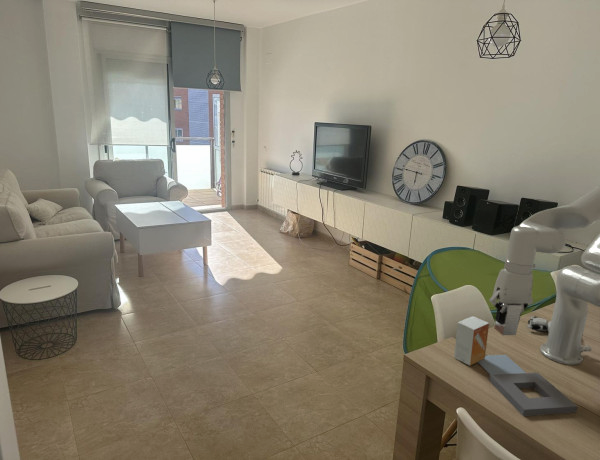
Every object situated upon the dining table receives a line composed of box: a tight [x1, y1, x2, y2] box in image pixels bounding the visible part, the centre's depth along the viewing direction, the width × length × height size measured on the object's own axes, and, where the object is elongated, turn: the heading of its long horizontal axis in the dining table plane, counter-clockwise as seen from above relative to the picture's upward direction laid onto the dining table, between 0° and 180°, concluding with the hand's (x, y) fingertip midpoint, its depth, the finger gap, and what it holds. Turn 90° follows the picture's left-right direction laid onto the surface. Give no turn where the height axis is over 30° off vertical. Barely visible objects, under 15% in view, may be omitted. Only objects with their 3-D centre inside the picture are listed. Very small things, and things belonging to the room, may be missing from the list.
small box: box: [453, 315, 490, 366], centre depth 141 cm, size 8×6×13 cm
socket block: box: [488, 372, 578, 417], centre depth 124 cm, size 16×16×2 cm
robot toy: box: [526, 315, 551, 333], centre depth 164 cm, size 12×4×15 cm
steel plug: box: [494, 304, 522, 336], centre depth 134 cm, size 4×4×10 cm
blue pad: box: [477, 354, 527, 376], centre depth 139 cm, size 12×12×1 cm
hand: (506, 321), depth 135 cm, fingers closed on steel plug, 4 cm apart
